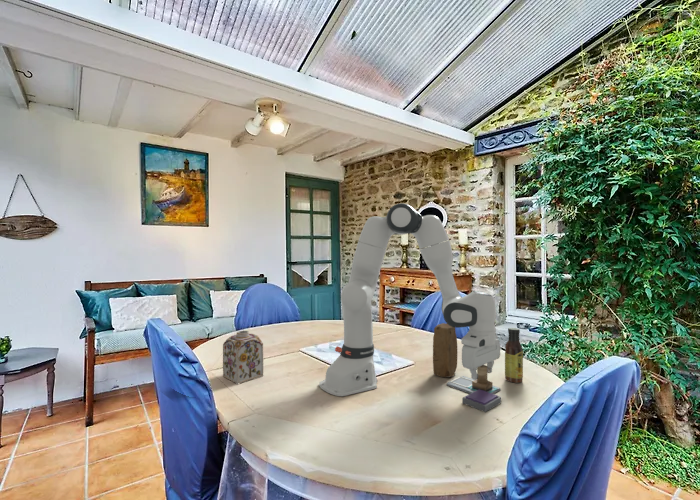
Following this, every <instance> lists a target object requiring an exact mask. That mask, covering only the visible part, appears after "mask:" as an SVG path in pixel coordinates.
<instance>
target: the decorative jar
mask: <svg viewBox="0 0 700 500" xmlns="http://www.w3.org/2000/svg"><path fill="white" fill-rule="evenodd" d="M222 376H224V377H223V378H225V379H227V380H229V381H230V380H231V382H233V383H234V382H235V384H236V383H237V384H236V385H239V384H238V383H240V384H243V383H246V382H249V381H252V380H251V379H253V380H255V379H254V378H256V379H257V377H259V378H261V376H262V377H264V343H263V341H262V340H261V338H260V336H259V335H257V334H254V333H250V332H249V331H248V330H239V331H238V330H237V331H236V334H233V335H231V336H229V337H228V338H227V339H226V340H225V341H224V342H223V344H222ZM248 380H249V381H248ZM245 381H246V382H245ZM242 382H243V383H242Z"/></svg>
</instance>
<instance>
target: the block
mask: <svg viewBox="0 0 700 500" xmlns="http://www.w3.org/2000/svg"><path fill="white" fill-rule="evenodd" d="M433 331H434V332H433V338H432V367H433V368H432V369H433V371H432V372H433V374H434V375H436V376H438V377H440V378H451V377H453V376H454V375H455V374H456V370H457V367H458V339H457V333H456V328H455V327H452V326H450V325H448V324H447V323H446V322H444V323H443V322H442V323H440V324H437V325H436V326H435V327H434V328H433Z"/></svg>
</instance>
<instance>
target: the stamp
mask: <svg viewBox="0 0 700 500" xmlns="http://www.w3.org/2000/svg"><path fill="white" fill-rule="evenodd" d="M476 372H477V374H478V379H476V380H474V381H472V388H473V389H476V390H479V389H480V390H483V391H486V392H488V391H489V390H491V389H493V386H494V385H493V383H494V382H493V381H490V380H488V373H487V364H484V365H482V366H480V367H477V370H476Z"/></svg>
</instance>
